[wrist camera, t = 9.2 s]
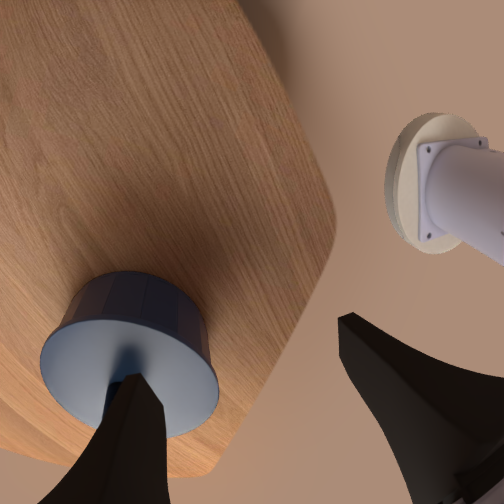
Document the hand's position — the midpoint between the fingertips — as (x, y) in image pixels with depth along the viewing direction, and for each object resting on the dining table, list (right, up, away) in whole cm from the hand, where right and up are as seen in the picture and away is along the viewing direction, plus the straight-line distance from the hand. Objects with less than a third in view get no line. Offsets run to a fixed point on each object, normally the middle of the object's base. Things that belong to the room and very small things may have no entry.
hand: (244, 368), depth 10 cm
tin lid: (-7, -4, +6) cm, 10 cm away
